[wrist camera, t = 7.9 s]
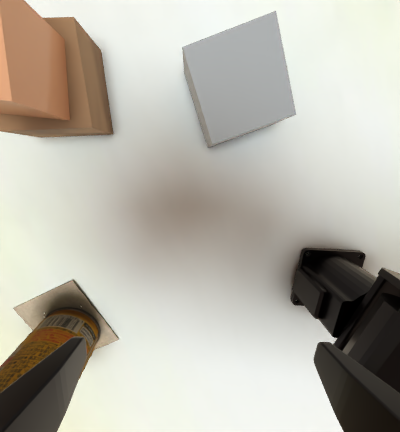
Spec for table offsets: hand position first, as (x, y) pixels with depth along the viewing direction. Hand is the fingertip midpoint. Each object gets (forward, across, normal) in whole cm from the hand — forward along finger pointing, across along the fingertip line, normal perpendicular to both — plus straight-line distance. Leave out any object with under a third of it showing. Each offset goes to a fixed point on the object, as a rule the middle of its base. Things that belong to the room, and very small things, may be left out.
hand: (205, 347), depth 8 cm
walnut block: (+13, +11, -11) cm, 20 cm away
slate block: (+13, -2, -12) cm, 18 cm away
